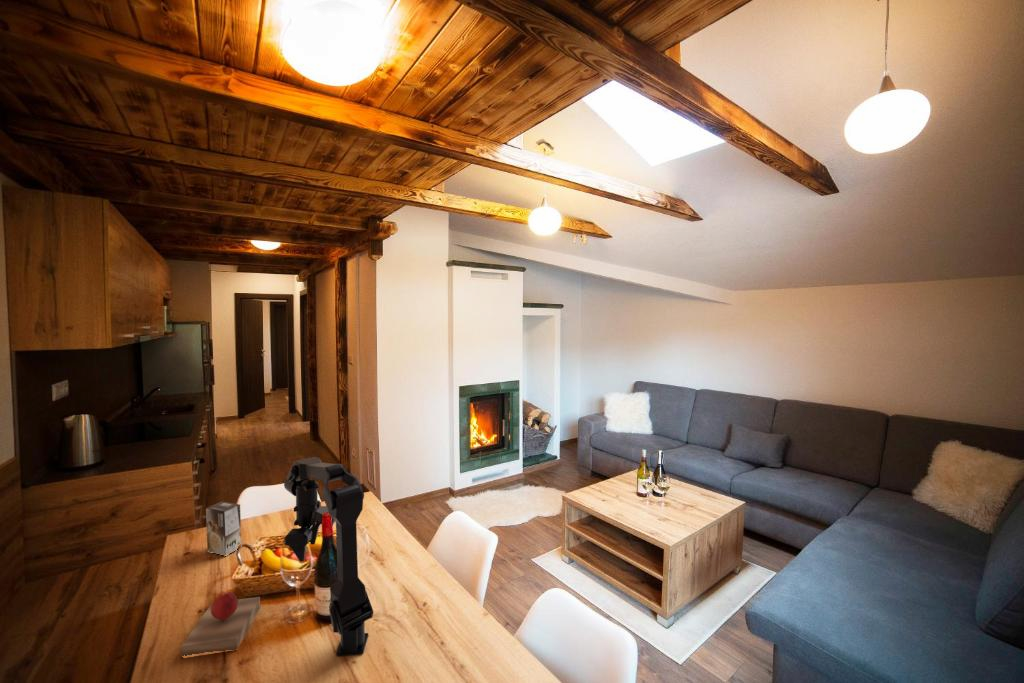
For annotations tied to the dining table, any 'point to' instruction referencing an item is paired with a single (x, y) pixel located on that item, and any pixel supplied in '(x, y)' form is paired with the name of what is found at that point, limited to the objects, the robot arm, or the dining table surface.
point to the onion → (224, 605)
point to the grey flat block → (221, 629)
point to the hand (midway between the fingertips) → (307, 552)
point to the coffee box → (223, 527)
